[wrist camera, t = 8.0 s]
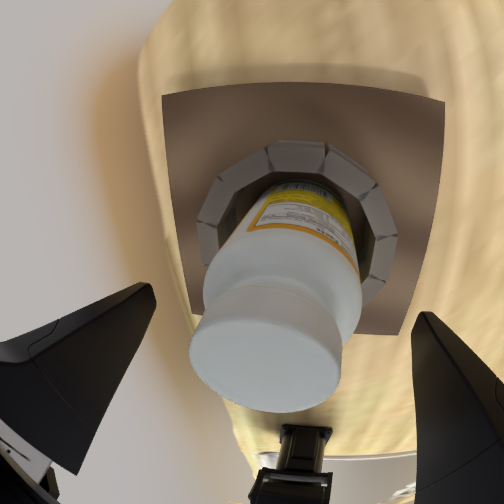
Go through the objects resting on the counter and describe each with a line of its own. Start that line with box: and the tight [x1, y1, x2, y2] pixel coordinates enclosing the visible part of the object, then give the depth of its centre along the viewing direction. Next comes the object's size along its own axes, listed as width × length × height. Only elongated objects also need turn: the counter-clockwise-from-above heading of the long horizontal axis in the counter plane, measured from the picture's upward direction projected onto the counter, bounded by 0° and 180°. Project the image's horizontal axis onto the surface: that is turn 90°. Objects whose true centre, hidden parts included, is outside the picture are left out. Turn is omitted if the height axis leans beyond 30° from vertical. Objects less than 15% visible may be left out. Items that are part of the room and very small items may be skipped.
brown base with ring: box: [162, 82, 445, 335], centre depth 14 cm, size 15×15×5 cm
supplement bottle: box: [189, 179, 362, 413], centre depth 10 cm, size 5×5×10 cm
